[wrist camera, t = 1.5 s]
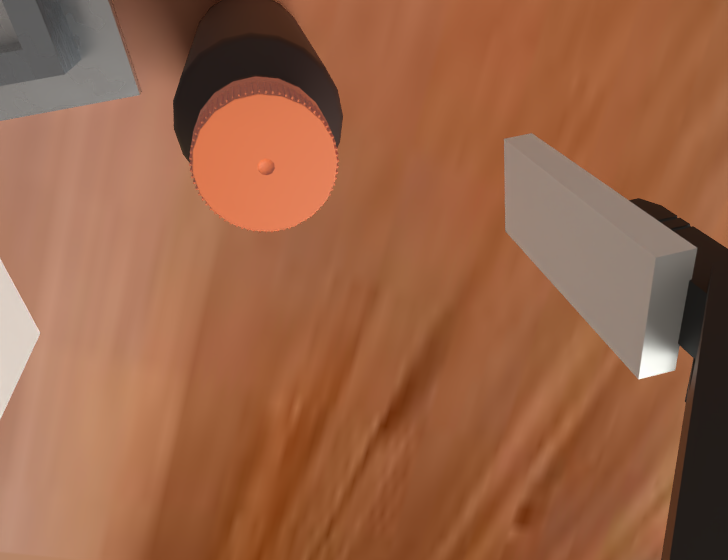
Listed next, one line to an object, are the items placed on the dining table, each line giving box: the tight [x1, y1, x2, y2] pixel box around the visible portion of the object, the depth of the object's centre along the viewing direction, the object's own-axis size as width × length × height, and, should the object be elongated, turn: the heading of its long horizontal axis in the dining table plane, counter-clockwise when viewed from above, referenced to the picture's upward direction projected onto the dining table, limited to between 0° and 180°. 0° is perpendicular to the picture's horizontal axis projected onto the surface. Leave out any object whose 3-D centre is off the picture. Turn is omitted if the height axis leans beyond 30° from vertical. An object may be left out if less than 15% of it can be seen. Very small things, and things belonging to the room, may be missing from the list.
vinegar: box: [173, 0, 343, 233], centre depth 28 cm, size 7×7×20 cm
